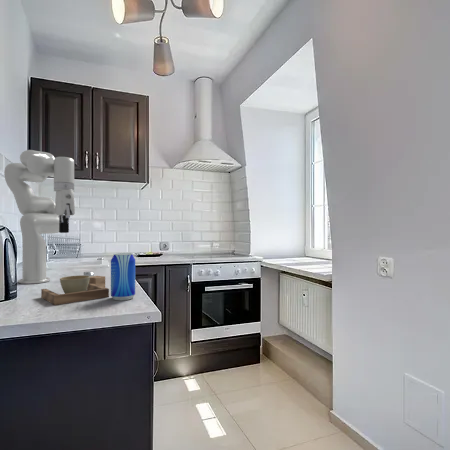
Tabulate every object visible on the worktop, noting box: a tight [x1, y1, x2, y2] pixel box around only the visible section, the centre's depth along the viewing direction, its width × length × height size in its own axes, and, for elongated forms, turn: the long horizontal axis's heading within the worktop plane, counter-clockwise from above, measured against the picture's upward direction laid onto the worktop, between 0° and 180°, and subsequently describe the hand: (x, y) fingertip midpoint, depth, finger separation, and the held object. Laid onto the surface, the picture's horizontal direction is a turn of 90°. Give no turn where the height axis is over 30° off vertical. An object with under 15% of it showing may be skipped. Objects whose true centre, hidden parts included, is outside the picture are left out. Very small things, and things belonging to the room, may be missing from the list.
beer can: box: [110, 252, 136, 301], centre depth 118 cm, size 8×8×16 cm
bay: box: [40, 283, 110, 306], centre depth 120 cm, size 16×18×3 cm
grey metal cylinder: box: [83, 271, 95, 277], centre depth 141 cm, size 4×4×6 cm
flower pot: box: [59, 274, 90, 294], centre depth 120 cm, size 10×10×7 cm
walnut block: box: [86, 275, 106, 291], centre depth 136 cm, size 5×5×5 cm
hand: (64, 232), depth 135 cm, fingers closed
